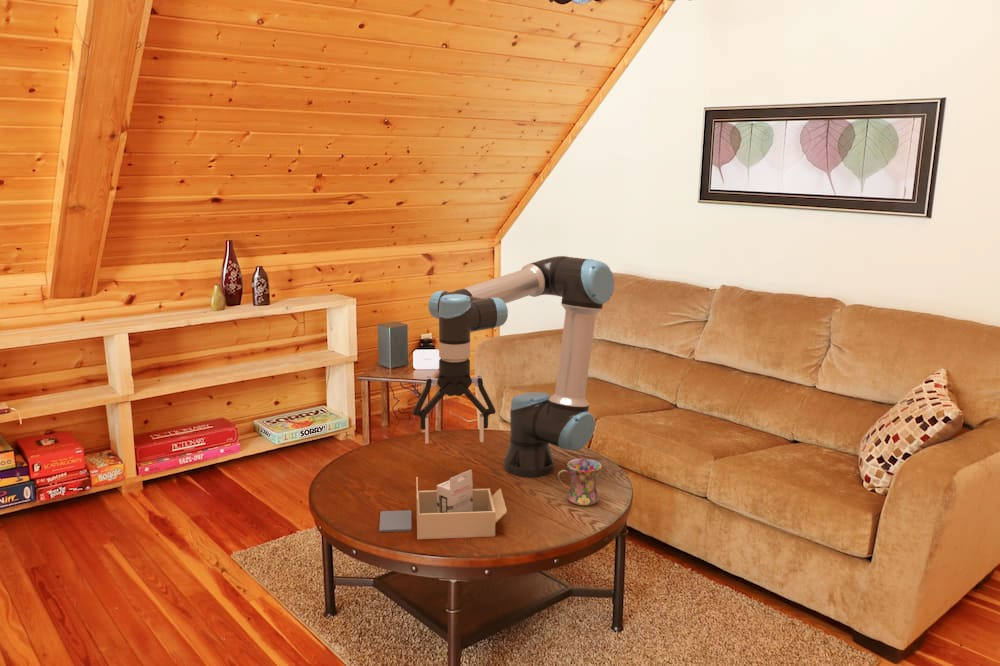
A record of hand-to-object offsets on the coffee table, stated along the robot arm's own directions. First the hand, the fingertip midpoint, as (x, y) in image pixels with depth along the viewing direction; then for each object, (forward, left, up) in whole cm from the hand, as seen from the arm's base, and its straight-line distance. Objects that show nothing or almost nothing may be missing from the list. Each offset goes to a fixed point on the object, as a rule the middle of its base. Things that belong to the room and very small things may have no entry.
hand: (454, 441), depth 204 cm
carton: (-2, -1, -23) cm, 23 cm away
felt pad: (+15, -3, -23) cm, 27 cm away
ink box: (0, 0, -23) cm, 23 cm away
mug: (-35, -12, -23) cm, 43 cm away
